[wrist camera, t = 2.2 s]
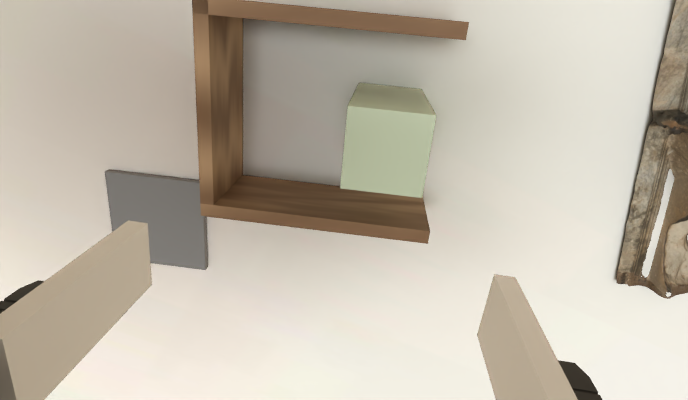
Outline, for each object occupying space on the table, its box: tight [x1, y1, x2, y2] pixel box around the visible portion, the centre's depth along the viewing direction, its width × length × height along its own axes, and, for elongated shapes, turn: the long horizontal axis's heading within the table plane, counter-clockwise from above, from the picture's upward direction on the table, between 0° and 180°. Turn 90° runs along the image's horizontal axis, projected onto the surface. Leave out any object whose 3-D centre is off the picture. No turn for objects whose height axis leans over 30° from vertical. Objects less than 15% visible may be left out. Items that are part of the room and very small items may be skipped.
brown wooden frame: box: [192, 0, 469, 244], centre depth 32 cm, size 15×17×7 cm
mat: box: [105, 170, 208, 270], centre depth 40 cm, size 9×9×1 cm
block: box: [340, 83, 436, 198], centre depth 30 cm, size 5×5×11 cm
